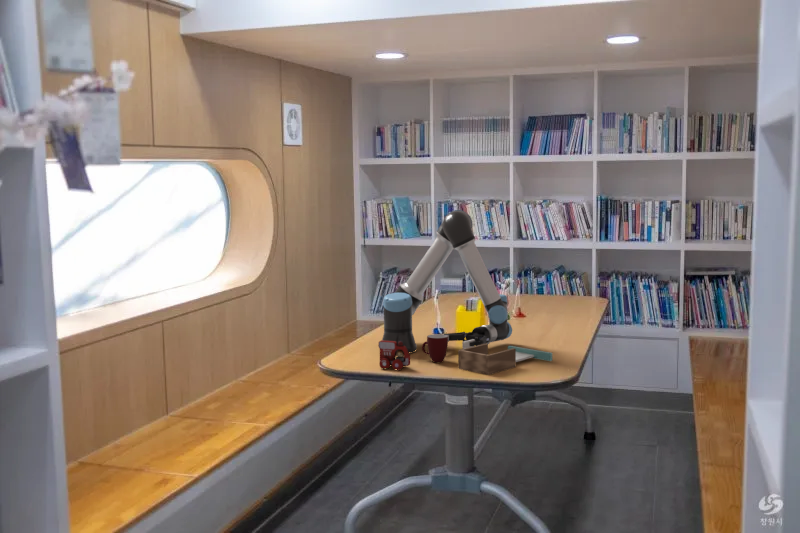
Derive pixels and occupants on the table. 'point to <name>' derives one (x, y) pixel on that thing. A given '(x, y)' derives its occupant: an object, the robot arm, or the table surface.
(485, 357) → the box
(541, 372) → the table surface
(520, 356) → the tray
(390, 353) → the toy fire truck
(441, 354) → the mug
